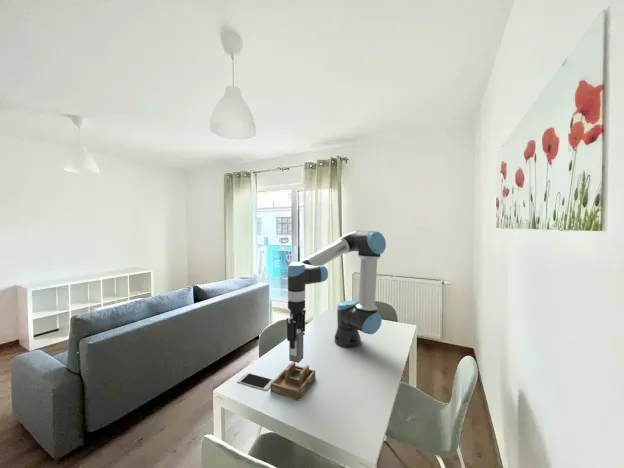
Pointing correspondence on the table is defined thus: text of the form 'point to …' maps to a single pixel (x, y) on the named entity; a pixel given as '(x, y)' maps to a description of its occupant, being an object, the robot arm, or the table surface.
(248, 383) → the smartphone
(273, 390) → the box
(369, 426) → the table surface
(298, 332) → the grey rectangular block
